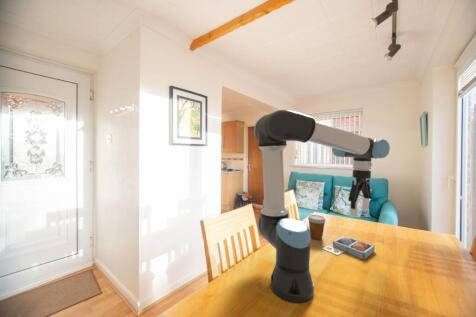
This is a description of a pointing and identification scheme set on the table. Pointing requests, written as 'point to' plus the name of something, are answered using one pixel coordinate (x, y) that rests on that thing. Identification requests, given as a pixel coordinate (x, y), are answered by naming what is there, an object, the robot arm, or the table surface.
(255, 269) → the table surface
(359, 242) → the terracotta ball
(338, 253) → the tile
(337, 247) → the rack
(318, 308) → the table surface
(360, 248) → the terracotta ball
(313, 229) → the disposable coffee cup
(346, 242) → the ball grey
